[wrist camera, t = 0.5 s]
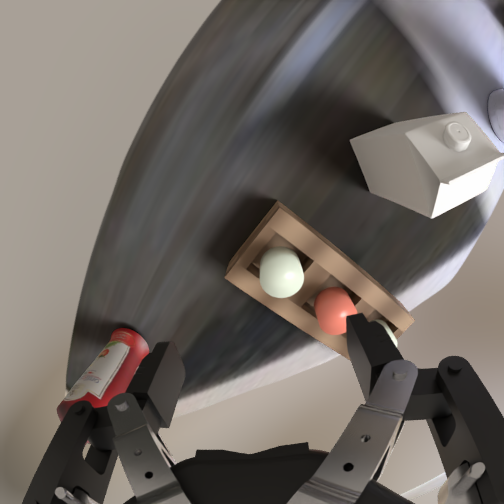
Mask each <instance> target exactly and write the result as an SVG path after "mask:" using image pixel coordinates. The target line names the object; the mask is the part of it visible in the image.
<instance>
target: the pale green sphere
mask: <svg viewBox="0 0 504 504" xmlns="http://www.w3.org/2000/svg"><path fill="white" fill-rule="evenodd" d="M303 281H304V273H303V270H302V267H301V263H300V260H299V258H298V256H297V254H296V253H295V252H294V251H293V250H292V249H290V248H287V247H283V246H277V247H273V248H271V249H269V250H268V251H267V252H265V254H264V255H263V256H262V258H261V262H260V284H261V286H262V288H263V290H264V291H265V292H266V293H267V294H269V295H270V296H273V297H276V298H286V297H290V296H292V295H294V294H295V293H297V292H298V291H299V289H300V288H301V286H302V284H303Z"/></svg>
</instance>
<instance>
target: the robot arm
mask: <svg viewBox="0 0 504 504" xmlns="http://www.w3.org/2000/svg"><path fill="white" fill-rule="evenodd" d="M488 114H489V119H490V123H491V125H492V128H493V130H494V132H495V134H496V135H497V137H498V138H499V139H500V140H501V141H502V142H504V89H498V90H494V91H493V92H492V93H491V94H490V96H489V99H488ZM346 333H347V349H348V354H349V357H350V360H351V362H352V365H353V368H354V370H355V373H356V376H357V378H358V381H359V384H360V387H361V389H362V392H363V395H364V398H365V401H366V404H365V405H363V404H361V405H360V406H359V407H358V409H357V410H356V412H355V414H354V416H353V417H352V419H351V421H350V422H349V424H348V425H347V427H346V429H345V430H344V432H343V433H342V435H341V437H340V438H339V440H338V441H337V443H336V444H335V446H334V447H333V449H332V450H331V452H330V453H329V452H325V451H321V450H313V449H312V450H311V449H309V446H308V442H306V443H298V444H291V445H284V446H278V447H275V448H272V449H268V450H265V451H261V452H258V453H254V454H244V453H238V452H232V451H226V450H197V451H196V455H195V457H193V458H190V459H186V460H184V461H181V462H179V463H176V461H175V460H174V458H173V457H172V455H171V453H170V451H169V450H168V448H167V446H166V444H165V443H164V441H163V439H162V437H161V436H160V434H159V433H158V431H159V428H169V426H170V423H171V420H172V417H173V414H174V411H175V407H176V404H177V401H178V398H179V395H180V391H181V388H182V385H183V382H184V379H185V367H184V365H183V362H182V360H181V358H180V355H179V353H178V350H177V348H176V346H175V344H174V342H172V341H170V342H158V343H157V344H156V345H155V347H154V349H153V351H152V353H149V354H148V355H147V356H145V357H144V358H143V359H142V361H141V363H140V365H139V366H138V368H137V370H136V372H135V374H134V376H133V378H132V380H131V382H130V384H129V386H128V388H127V390H126V392H125V393H120V394H118V395H116V396H114V397H113V398H112V399H111V400H110V401H109V402H108V405H107V406H103V407H98V408H94V407H93V406H92V404H91V403H90V402H89V401H86V400H82V401H78V402H76V403H74V404H73V405H72V406H71V407H70V408H69V409H68V411H67V413H66V415H65V417H64V418H63V420H62V422H61V424H60V426H59V428H58V429H57V431H56V433H55V435H54V437H53V439H52V441H51V443H50V445H49V447H48V449H47V451H46V453H45V454H44V456H43V459H42V461H41V463H40V465H39V467H38V469H37V471H36V473H35V475H34V477H33V479H32V482H31V484H30V486H29V489H28V491H27V493H26V495H25V497H24V500H23V502H22V504H103V501H104V498H105V495H106V491H107V488H108V485H109V481H110V479H111V475H112V472H113V469H114V466H115V463H116V460H117V457H118V456H119V458H120V461H121V463H122V466H123V468H124V471H125V473H126V476H127V478H128V481H129V483H130V485H131V487H132V490H133V492H134V494H135V496H134V497H132V498H130V499H129V500H128V501H126V502H125V503H124V504H415V503H413V502H411V501H409V500H407V499H406V498H404V497H402V496H400V495H399V494H397V493H395V492H393V491H392V490H390V489H388V488H387V487H385V486H383V485H381V484H380V483H378V480H379V478H380V476H381V475H382V473H383V471H384V469H385V467H386V464H387V462H388V460H389V458H390V455H391V453H392V451H393V449H394V446H395V445H396V442H397V440H398V438H399V435H400V433H401V431H402V428H403V426H404V423H405V421H407V420H423V419H426V421H427V423H428V426H429V428H430V431H431V433H432V436H433V439H434V441H435V444H436V447H437V449H438V452H439V454H440V458H441V461H442V463H443V466H444V469H445V472H446V475H447V480H446V481H445V482H444V484H443V485H442V486H441V488H440V490H439V493H438V504H504V418H503V416H502V414H501V412H500V411H499V409H498V407H497V406H496V404H495V402H494V401H493V399H492V397H491V396H490V394H489V392H488V391H487V389H486V388H485V386H484V385H483V383H482V382H481V380H480V378H479V377H478V375H477V374H476V372H475V371H474V370H473V368H472V367H471V365H470V364H469V362H468V361H467V360H466V359H464V358H462V357H459V356H449V357H446V358H445V359H443V360H442V361H441V362H440V363H439V366H438V368H430V369H418V368H417V367H416V366H415V364H413V363H412V362H410V361H407V360H404V359H403V357H402V355H401V354H400V352H399V350H398V349H397V347H396V345H395V344H394V342H393V341H392V340H391V337H390V336H389V334H388V332H387V331H386V329H385V328H384V326H383V325H381V324H380V323H378V322H377V321H371V322H368V321H367V319H366V317H365V316H364V314H363V313H358V314H353V315H348V316H346ZM87 440H88V441H89V443H90V444H91V446H90V448H89V450H88V453H87V456H86V458H85V460H84V459H83V456H82V452H83V449H84V447H85V444H86V442H87Z"/></svg>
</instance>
